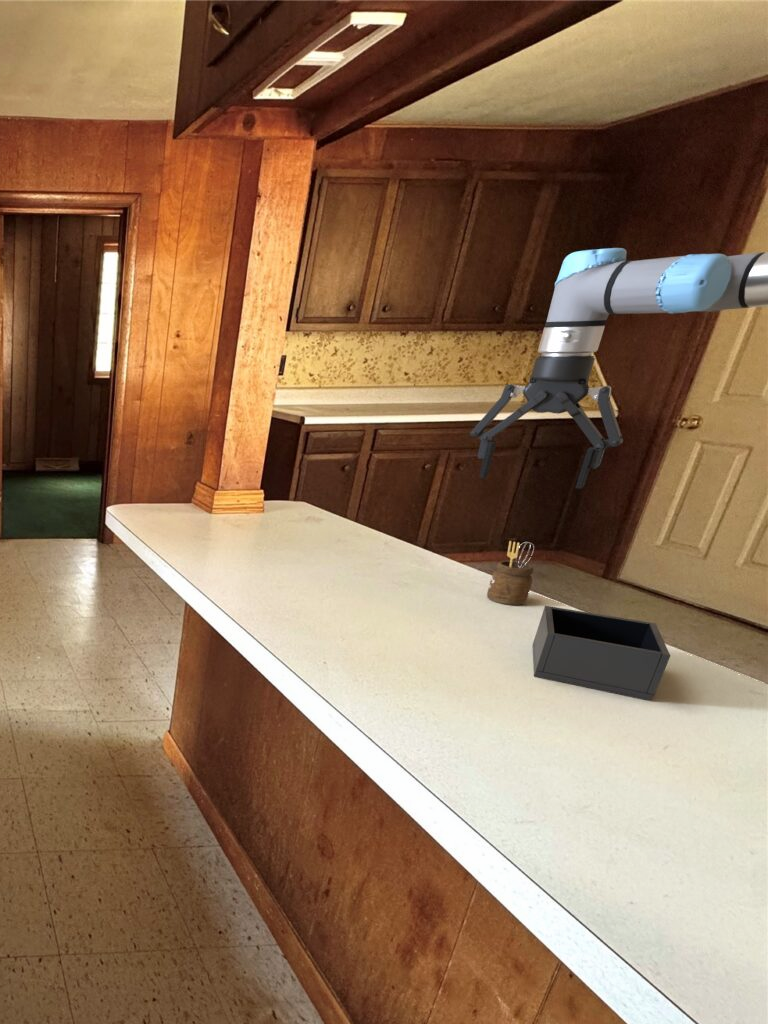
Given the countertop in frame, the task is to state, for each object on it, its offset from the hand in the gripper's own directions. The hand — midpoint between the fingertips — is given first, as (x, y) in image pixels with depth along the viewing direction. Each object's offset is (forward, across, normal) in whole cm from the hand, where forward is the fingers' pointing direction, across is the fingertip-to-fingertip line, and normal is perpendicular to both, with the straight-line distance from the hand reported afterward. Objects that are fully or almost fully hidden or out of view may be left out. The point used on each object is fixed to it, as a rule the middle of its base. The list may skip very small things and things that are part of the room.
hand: (529, 482), depth 117 cm
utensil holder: (+22, +2, -1) cm, 22 cm away
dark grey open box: (+22, +17, -25) cm, 37 cm away
